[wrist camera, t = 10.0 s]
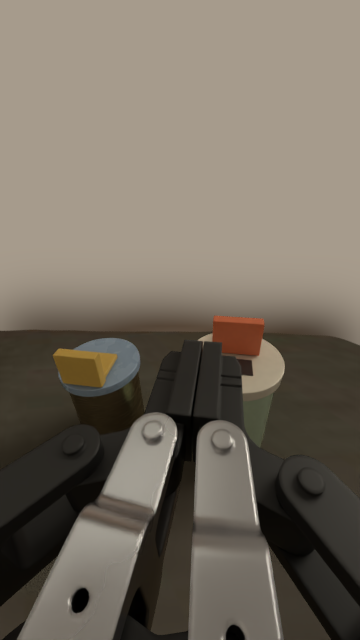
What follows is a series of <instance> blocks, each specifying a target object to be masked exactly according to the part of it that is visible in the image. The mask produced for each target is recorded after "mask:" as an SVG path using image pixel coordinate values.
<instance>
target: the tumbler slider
mask: <svg viewBox="0 0 360 640" xmlns="http://www.w3.org/2000/svg"><path fill="white" fill-rule="evenodd" d="M53 357H54V360H55V363H56V365H57V368H58V371H59V373H60V376H61V379H62V381H63V383H65V384H74V385H82V386H91V387H99V388H102V387H103V385H104V383H105V381H106V376H107V375H108V373H109V371H110V370H111V368H112V366H113V364H114V363H115V361H116V359H117V354H110V353H100V352H90V351H79V350H68V349H58V350H57V351H56V352H55V353H54V354H53Z"/></svg>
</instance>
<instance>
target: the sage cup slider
mask: <svg viewBox="0 0 360 640" xmlns="http://www.w3.org/2000/svg"><path fill="white" fill-rule="evenodd" d="M263 330H264V320H263V319H257V318H256V319H255V318H242V317H241V318H240V317H224V316H214V319H213V337H212V342H222V353H233V354H244V355H256V356H259V354H260V348H261V342H262V336H263Z"/></svg>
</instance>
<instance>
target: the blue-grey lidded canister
mask: <svg viewBox="0 0 360 640" xmlns="http://www.w3.org/2000/svg"><path fill="white" fill-rule="evenodd" d="M73 350H79V351H90V352H100V353H110V354H117V359H116V361H115V363H114V364H113V366H112V368H111V370H110V371H109V373H108V375H107V376H106V381H105V383H104V385H103V387H102V388H99V387H91V386H82V385H74V384H65V383H63V381H62V379H61V376H60V373H59V371H58V376H59V379H60V382H61V384H62V386H63V387H64V388H65V389H66V390H67V391H68V392H69V393H70V396H71V399H72V401H73V404H74V407H75V409H76V412H77V415H78V418H79V420H80V423H81V424H86V425H90V426H93V427H94V428H95V429H96V430H97V431H98V433H99V435H102V434H107V433H113V432H119V431H123V430H126V429H128V428H130V427H131V426H132V425H133V423H134V422H135V421H136V420H137V419H138V418H140V417H141V416H143V415H144V413H145V412H144V406H143V399H142V393H141V386H140V380H139V373H138V370H139V367H140V355H139V352H138V350H137V348H136V347H135V346H134V345H133V344H132V343H130V342H128V341H126V340H123V339H118V338H103V339H97V340H93V341H90V342H87V343H85V344H82V345H80V346H78V347H77V348H75V349H73Z"/></svg>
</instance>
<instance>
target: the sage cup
mask: <svg viewBox="0 0 360 640" xmlns="http://www.w3.org/2000/svg"><path fill="white" fill-rule="evenodd" d="M212 337H213V333H212V334H209V335H206V336H204V337H202V338H200V339H199V340H197V341H203V345H204V341H210V342H212ZM222 355H224V356H235V357H236V359H237V360H238V362H239V363H240V365H241V372H242V391H243V411H244V426H245V429H246V432H247V434H248V436H249V437H250V439H251V440H252V441H253V442H254V443H255V444H256V445H257V446H258V447H260V448H261V446H262V442H263V438H264V433H265V429H266V425H267V421H268V417H269V412H270V408H271V404H272V400H273V396H274V391H275V390H276V389H277V388H278V387H279V386H280V384H281V382H282V379H283V375H284V371H285V365H284V361H283V358H282V356H281V354H280V353H279V351H278V350H277V349H276V348H275V347H274V346H273V345H271V344H270V343H269V342H267V341H265V340H264V339H262V342H261V348H260V354H259V356H256V355H244V354H233V353H222Z"/></svg>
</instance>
